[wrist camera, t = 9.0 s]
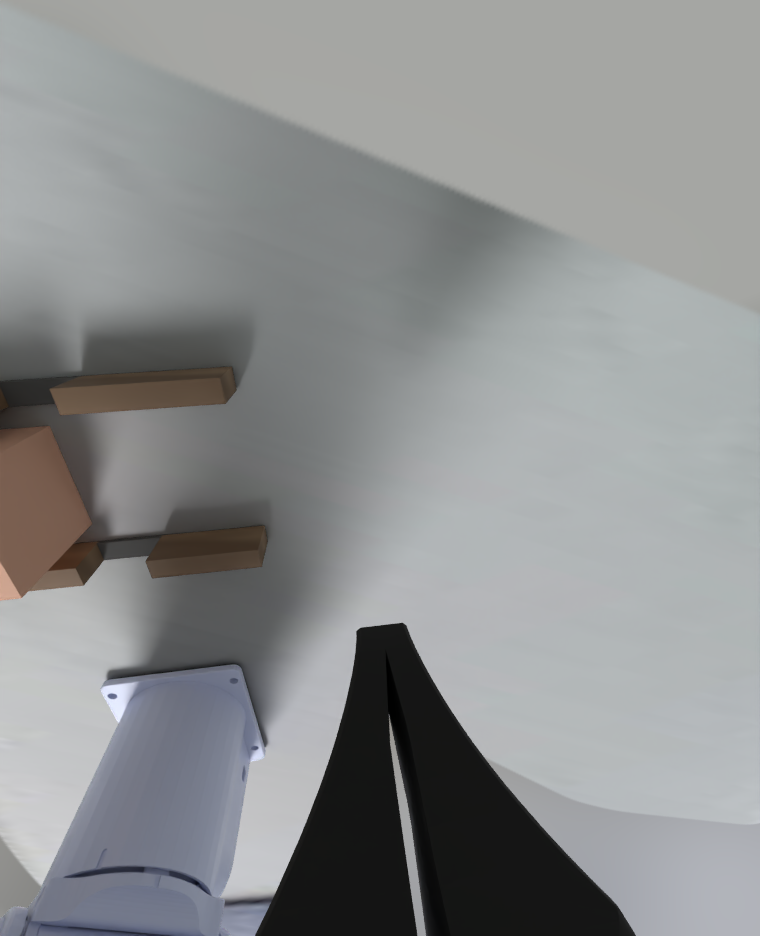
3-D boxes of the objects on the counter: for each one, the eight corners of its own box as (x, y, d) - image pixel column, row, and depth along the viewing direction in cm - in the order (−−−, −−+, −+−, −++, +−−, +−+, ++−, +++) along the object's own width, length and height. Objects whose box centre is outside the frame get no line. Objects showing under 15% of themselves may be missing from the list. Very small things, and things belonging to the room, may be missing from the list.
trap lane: (267, 541, 21) (258, 581, 18) (-23, 570, 19) (-80, 617, 17) (231, 366, 17) (212, 384, 14) (-137, 389, 15) (-235, 414, 13)
